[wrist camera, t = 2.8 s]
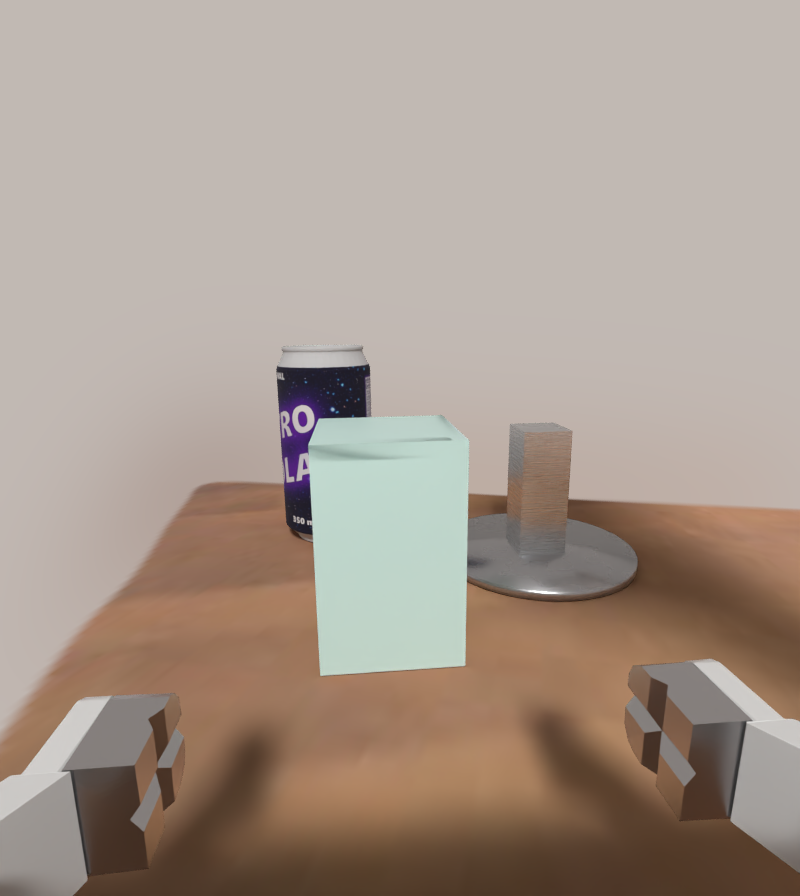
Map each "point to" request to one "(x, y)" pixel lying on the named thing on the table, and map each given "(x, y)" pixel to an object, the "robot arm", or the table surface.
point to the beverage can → (315, 412)
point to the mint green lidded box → (389, 542)
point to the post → (544, 530)
